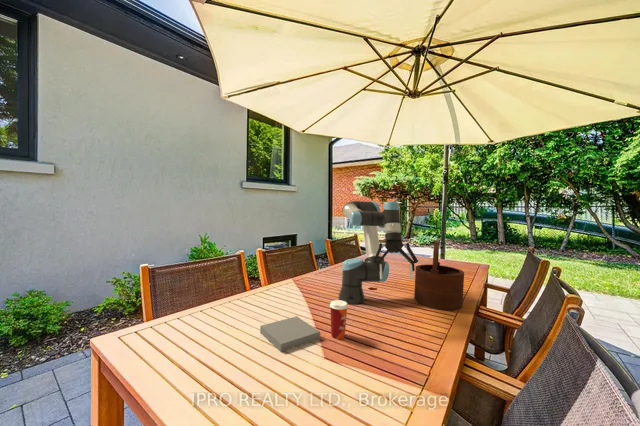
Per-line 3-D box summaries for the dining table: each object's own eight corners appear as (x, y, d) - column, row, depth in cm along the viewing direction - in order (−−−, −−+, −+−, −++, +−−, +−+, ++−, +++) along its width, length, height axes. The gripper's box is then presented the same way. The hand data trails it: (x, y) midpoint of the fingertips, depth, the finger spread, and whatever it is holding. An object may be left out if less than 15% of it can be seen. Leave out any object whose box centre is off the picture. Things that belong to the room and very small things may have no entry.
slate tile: (260, 332, 116) (260, 325, 116) (296, 322, 127) (296, 316, 127) (280, 352, 102) (280, 344, 101) (319, 338, 112) (320, 331, 112)
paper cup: (346, 341, 111) (347, 307, 110) (327, 338, 112) (328, 305, 112) (348, 332, 119) (349, 300, 118) (330, 330, 120) (331, 298, 120)
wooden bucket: (461, 299, 166) (464, 241, 165) (463, 314, 142) (467, 247, 141) (416, 292, 177) (418, 238, 175) (411, 305, 153) (414, 242, 152)
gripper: (366, 232, 129) (369, 278, 123) (421, 230, 126) (426, 278, 120) (366, 235, 137) (368, 279, 131) (418, 234, 134) (422, 279, 128)
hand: (396, 278), depth 126 cm, fingers open, 13 cm apart
